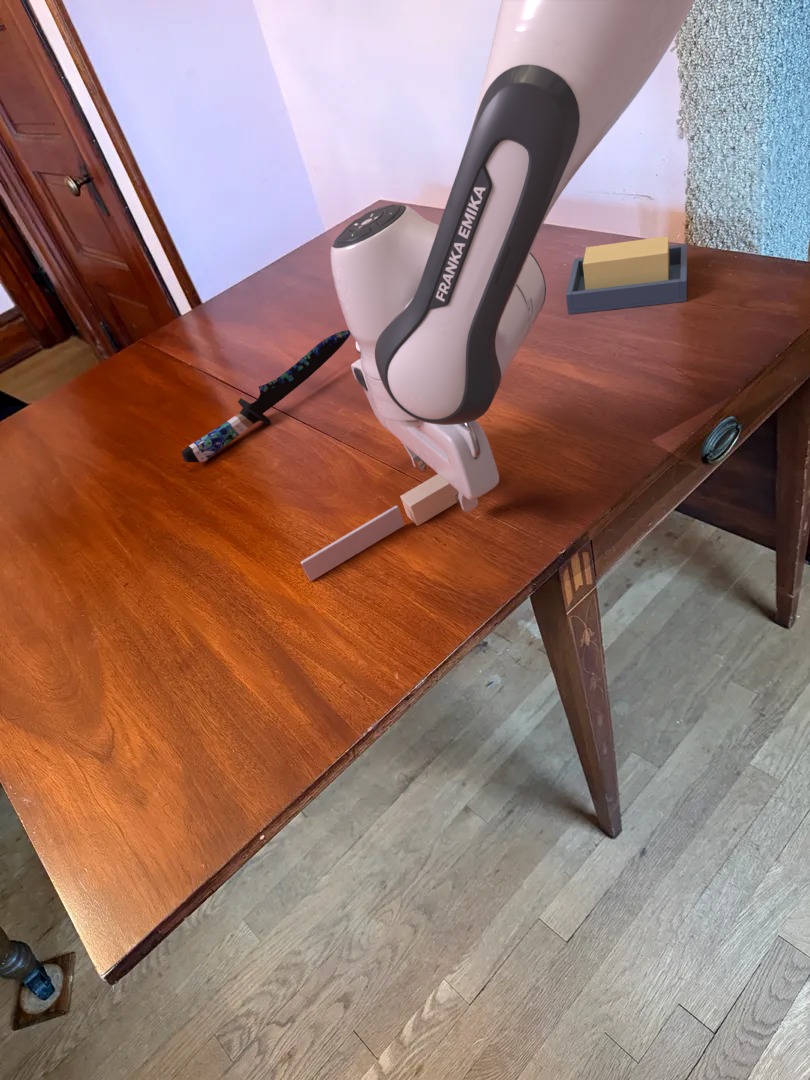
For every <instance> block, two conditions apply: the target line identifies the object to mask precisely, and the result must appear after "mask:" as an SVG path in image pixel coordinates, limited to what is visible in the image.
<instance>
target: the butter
mask: <svg viewBox="0 0 810 1080" xmlns="http://www.w3.org/2000/svg"><path fill="white" fill-rule="evenodd" d="M669 246H670V236H669V235H666V236H665V235H664V236H657V237H651V238H643V239H636V240H628V241H622V242H615V243H608V244H601V245H593V246H586V247H585V252H584V257H583V258H584V261H583V270H584V279H585V289H586V290H590V289H598V288H607V287H615V286H623V285H632V284H640V283H648V282H657V281H665V280H669Z"/></svg>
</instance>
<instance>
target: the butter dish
mask: <svg viewBox="0 0 810 1080" xmlns="http://www.w3.org/2000/svg"><path fill="white" fill-rule="evenodd" d="M583 261H584V257H580V258H574V259H573V262H572V266H571V271H570V276H569V279H568V283H567V284H568V285H567V289H566V293H565V299H566V306H567V312H568V313H567V314H568V315H575V314H584V313H592V312H593V313H594V312H603V311H612V310H619V309H628V308H629V309H631V308H639V307H649V306H656V305H667V304H676V303H685V302H688V244H687V243H682V244H675V245H669V280H665V281H657V282H648V283H640V284H632V285H623V286H615V287H607V288H598V289H590V290H586V289H585V279H584V270H583Z"/></svg>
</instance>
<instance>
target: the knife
mask: <svg viewBox="0 0 810 1080" xmlns="http://www.w3.org/2000/svg"><path fill="white" fill-rule="evenodd" d="M351 335H352V334H351V333H350V331H349V329H348V330H347V329H346V330H341V331H339V332H335V333H334V334H332V335H329V336H328V337H326V338H324V339H323V340H322V341H320V342H319V343H317V344H316V345H315V346H314V347H313V348H311V350H309V351H308V352H307V353H306V354H305V355H303V357H301V358H300V359H299V360H298V361H297V362H295V364H293V365H292V366H291V367H290V368H288V369H287V370H286V371H284V373H282V374H281V375H280V376H278V377H276V378H275V379H272V380H271V381H269V382H267V383H264V384H262V385H259V386H258V390H259V396H258V398H257V399H256V400H255V401H253V402H248V401H247V400H245V399H243V398H242V397H240V398H239V399H238V401H237V403H238V405H240V406H241V408H242V409H240V411H239V412H238V414H236V415H234V416H233V417H231V418H230V419H228V420H227V421H225V422H224V423H222V424H221V425H219V426H218V427H216V428H215V429H213V430H211V431H210V432H208V433H207V434H205V435H203V436H202V437H200V438H199V439H197V440H196V441H194V442H193V443H191V444H189V445H188V446H187V447H186V448H185V449H182V451H181V452H180V454H181V456H182V458H183V460H184V462H186V463H204V462H207V461H208V460H209V459H210V458H212V457H213V456H214V455H216V454H217V453H218V452H219V451H221V450H222V449H224V448H225V447H226V446H227V445H228V444H229V443H231V442H232V441H234V440H235V439H236V438H238V437H239V436H240V435H242V434H243V433H244V432H246V431H247V430H248V429H249V428H251V427H252V426H253V425H254V424H256V423H258V422H262V423H264V424H268V425H270V424H271V423H272V420H271V419H270V418H269V417H267V416H266V415H265V413H267V411H269V410H270V409H271V408H273V407H274V406H275V405H276V404H278V403H279V402H281V401H282V400H283V399H285V398H286V397H287V396H288V395H289V394H290V393H291V392H293V391H294V390H295V389H298V387H299V386H300V385H302V384H303V383H304V382H305V381H306V380H308V379H309V378H310V377H311V376H312V375H313V374H314V373H316V372H317V371H318V370H319V369H320V368H321V367H322V366H323V365H324V364H325V363H326V362H327V361H328V360H329V359H331V357H333V356H334V355H335V353H336V352H338V350H340V348H341V347H343V345H344V344H345V342H346V341H347V340H348V339H349V337H351Z"/></svg>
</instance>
